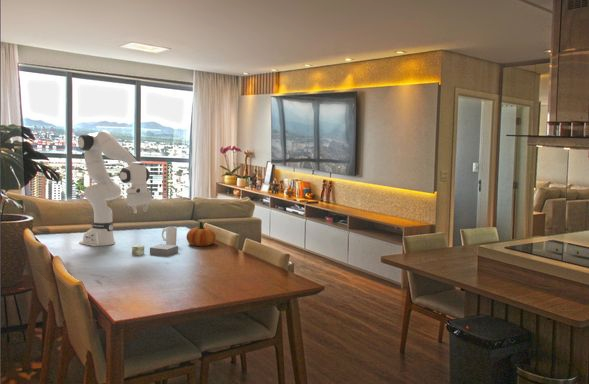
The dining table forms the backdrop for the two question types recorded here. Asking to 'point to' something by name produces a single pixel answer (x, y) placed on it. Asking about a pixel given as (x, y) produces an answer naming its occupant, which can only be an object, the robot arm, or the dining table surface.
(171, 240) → the mug
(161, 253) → the riser block
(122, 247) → the dining table surface
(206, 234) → the pumpkin
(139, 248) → the cube
